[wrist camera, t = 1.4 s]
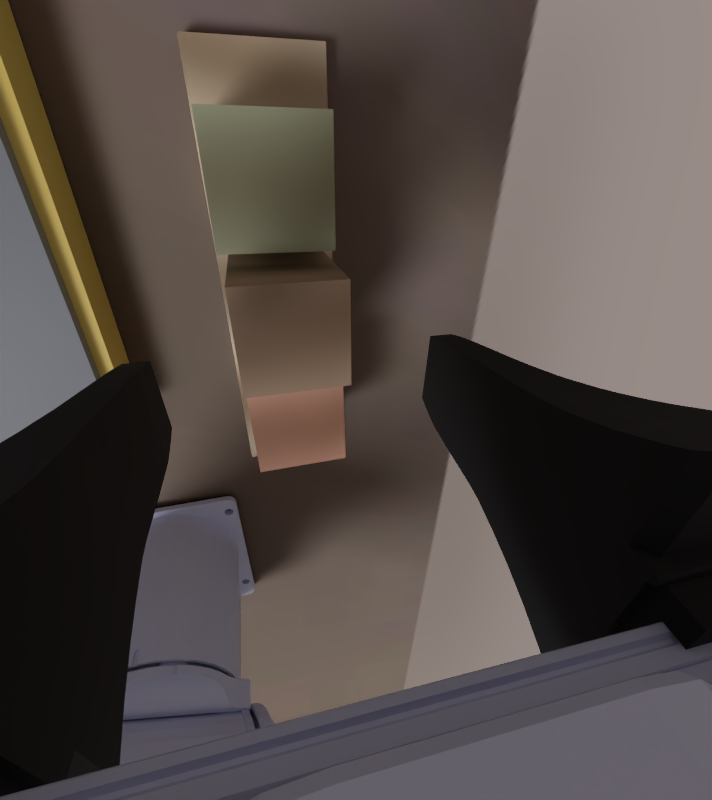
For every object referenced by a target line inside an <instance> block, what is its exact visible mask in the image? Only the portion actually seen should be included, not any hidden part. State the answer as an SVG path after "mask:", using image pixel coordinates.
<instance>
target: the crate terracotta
mask: <svg viewBox="0 0 712 800" xmlns="http://www.w3.org/2000/svg"><path fill="white" fill-rule="evenodd" d="M247 403H248V409H249V414H250V419H251V424H252V430H253V435H254V440H255V446H256V451H257V456H258V461H259V467H260V472H265V471H271V470H277V469H283V468H289V467H294V466H300V465H306V464H312V463H318V462H324V461H330V460H336V459H341V458H346V451H345V422H344V394H343V386H341V387H333V388H325V389H317V390H309V391H301V392H293V393H285V394H277V395H269V396H261V397H253V398H247Z"/></svg>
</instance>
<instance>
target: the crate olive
mask: <svg viewBox="0 0 712 800" xmlns="http://www.w3.org/2000/svg"><path fill="white" fill-rule="evenodd" d="M191 105H192V111H193V117H194V123H195V129H196V135H197V141H198V147H199V153H200V159H201V165H202V171H203V177H204V183H205V189H206V195H207V200H208V206H209V212H210V218H211V224H212V230H213V236H214V242H215V248H216V254H217V255H229V254H258V253H286V252H314V251H336V232H335V172H334V113H333V109H317V108H291V107H265V106H239V105H214V104H191Z"/></svg>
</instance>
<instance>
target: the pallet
mask: <svg viewBox="0 0 712 800" xmlns="http://www.w3.org/2000/svg"><path fill="white" fill-rule="evenodd" d="M176 32H177V37H178V43H179V49H180V54H181V60H182V65H183V71H184V77H185V82H186V88H187V94H188V99H189V105H190V110H191V116H192V122H193V127H194V133H195V139H196V144H197V150H198V155H199V161H200V167H201V172H202V178H203V184H204V189H205V183H204V177H203V171H202V165H201V159H200V153H199V147H198V141H197V135H196V129H195V123H194V117H193V111H192V105H191V104H214V105H239V106H265V107H291V108H317V109H328V95H327V62H326V41H315V40H300V39H285V38H271V37H256V36H241V35H226V34H211V33H197V32H182V31H176ZM205 195H206V189H205ZM206 201H207V206H208V200H207V195H206ZM208 212H209V206H208ZM209 217H210V212H209ZM210 223H211V218H210ZM211 229H212V224H211ZM212 234H213V230H212ZM213 240H214V236H213ZM214 246H215V242H214ZM215 251H216V248H215ZM216 257H217V262H218V268H219V274H220V279H221V285H222V291H223V296H224V302H225V307H226V313H227V319H228V324H229V330H230V336H231V341H232V347H233V352H234V358H235V364H236V369H237V375H238V381H239V386H240V392H241V398H242V403H243V409H244V414H245V420H246V426H247V431H248V437H249V443H250V448H251V454H252V457H256V456H257V451H256V446H255V440H254V435H253V430H252V424H251V419H250V414H249V409H248V403H247V398H253V397H261V396H269V395H277V394H285V393H293V392H301V391H309V390H317V389H325V388H333V387H341V386H348V385H351V279H350V278H349V277H348V276H347V275H346V274H345V273H344V272H343V271H342V270H341V269H340V268H339V267H338V266H337V265H336V264H335V263H334V262H333V260H332V251H314V252H286V253H258V254H229V255H217V254H216Z"/></svg>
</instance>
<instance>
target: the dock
mask: <svg viewBox="0 0 712 800" xmlns="http://www.w3.org/2000/svg"><path fill="white" fill-rule="evenodd" d="M126 363H129V360H128V357H127V354H126V351H125V348H124V345H123V342H122V339H121V336H120V333H119V330H118V327H117V324H116V321H115V318H114V315H113V312H112V309H111V306H110V303H109V301H108V298H107V295H106V292H105V289H104V286H103V283H102V280H101V277H100V274H99V271H98V268H97V265H96V262H95V259H94V256H93V253H92V250H91V247H90V244H89V241H88V238H87V235H86V232H85V229H84V226H83V223H82V220H81V217H80V214H79V211H78V208H77V205H76V202H75V199H74V196H73V193H72V190H71V187H70V184H69V181H68V178H67V175H66V172H65V169H64V166H63V163H62V160H61V157H60V154H59V151H58V148H57V145H56V142H55V139H54V136H53V133H52V130H51V127H50V124H49V121H48V118H47V115H46V112H45V109H44V106H43V103H42V100H41V97H40V94H39V91H38V88H37V85H36V82H35V79H34V77H33V74H32V71H31V68H30V65H29V62H28V59H27V56H26V53H25V50H24V47H23V44H22V41H21V38H20V35H19V32H18V29H17V26H16V23H15V20H14V17H13V14H12V11H11V8H10V5H9V2H8V0H0V443H1V442H2V441H4V440H6V439H8V438H9V437H11V436H13V435H14V434H16V433H18V432H19V431H21V430H22V429H24V428H25V427H27V426H28V425H30V424H32V423H33V422H35V421H36V420H38V419H39V418H41V417H43V416H44V415H46V414H47V413H49V412H50V411H52V410H54V409H55V408H57V407H58V406H60V405H61V404H63V403H64V402H65V401H67V400H68V399H70V398H71V397H73V396H74V395H76V394H77V393H78V392H80V391H81V390H83V389H84V388H86V387H87V386H89V385H90V384H91V383H93V382H94V381H96V380H97V379H99V378H100V377H102V376H103V375H105V374H106V373H108V372H109V371H111V370H112V369H114V368H116V367H117V366H119V365H121V364H126Z"/></svg>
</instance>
